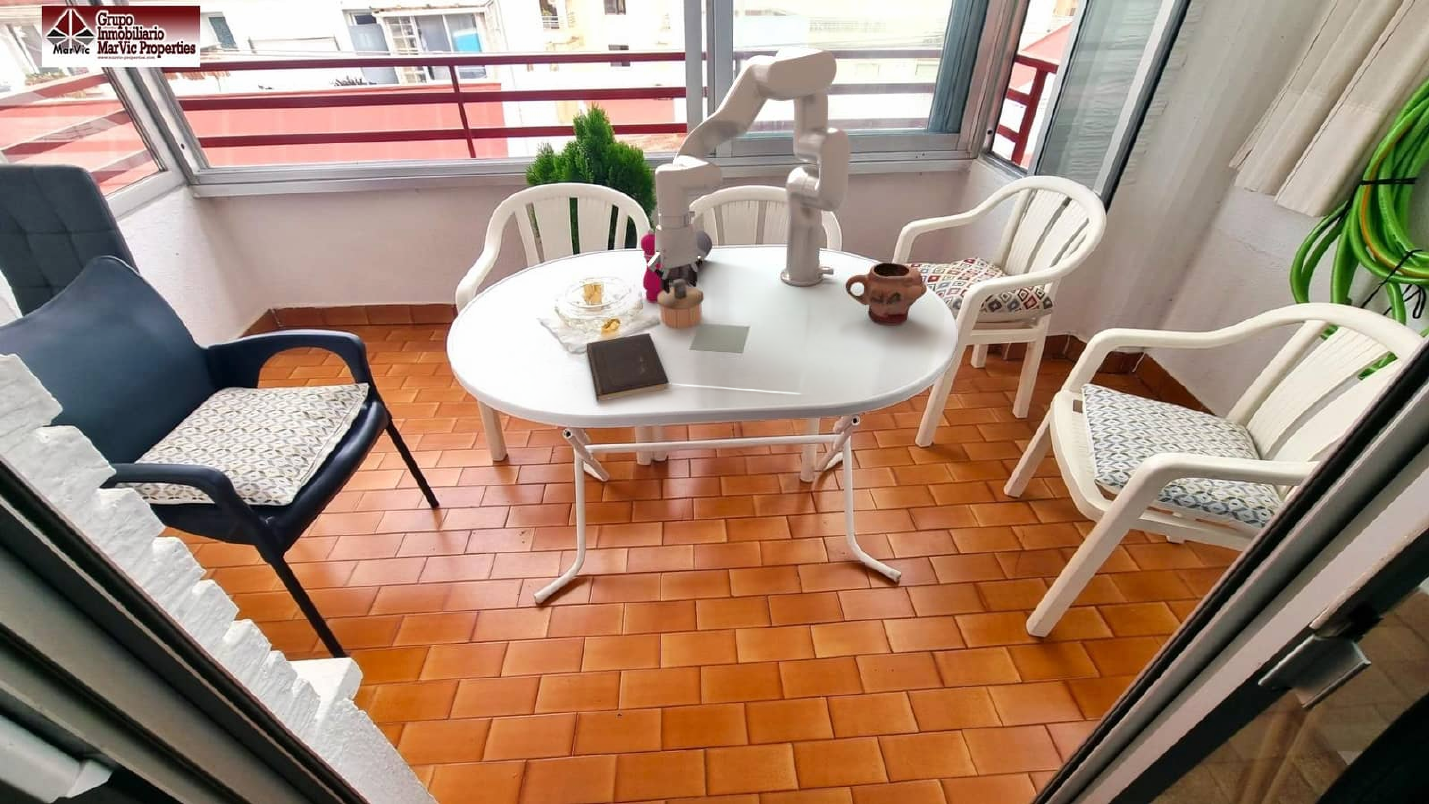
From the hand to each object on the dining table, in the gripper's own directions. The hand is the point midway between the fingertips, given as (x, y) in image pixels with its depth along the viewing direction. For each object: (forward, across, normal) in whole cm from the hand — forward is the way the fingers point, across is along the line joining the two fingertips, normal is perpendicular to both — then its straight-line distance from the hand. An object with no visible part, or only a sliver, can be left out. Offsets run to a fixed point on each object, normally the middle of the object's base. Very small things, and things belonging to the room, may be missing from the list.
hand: (679, 287), depth 148 cm
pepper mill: (+9, +1, -16) cm, 18 cm away
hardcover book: (+10, +21, +15) cm, 28 cm away
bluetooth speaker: (+9, -14, -27) cm, 32 cm away
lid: (+3, 0, 0) cm, 3 cm away
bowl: (+9, 0, 0) cm, 9 cm away
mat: (+9, -4, +14) cm, 18 cm away
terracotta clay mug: (+9, -46, +26) cm, 53 cm away
